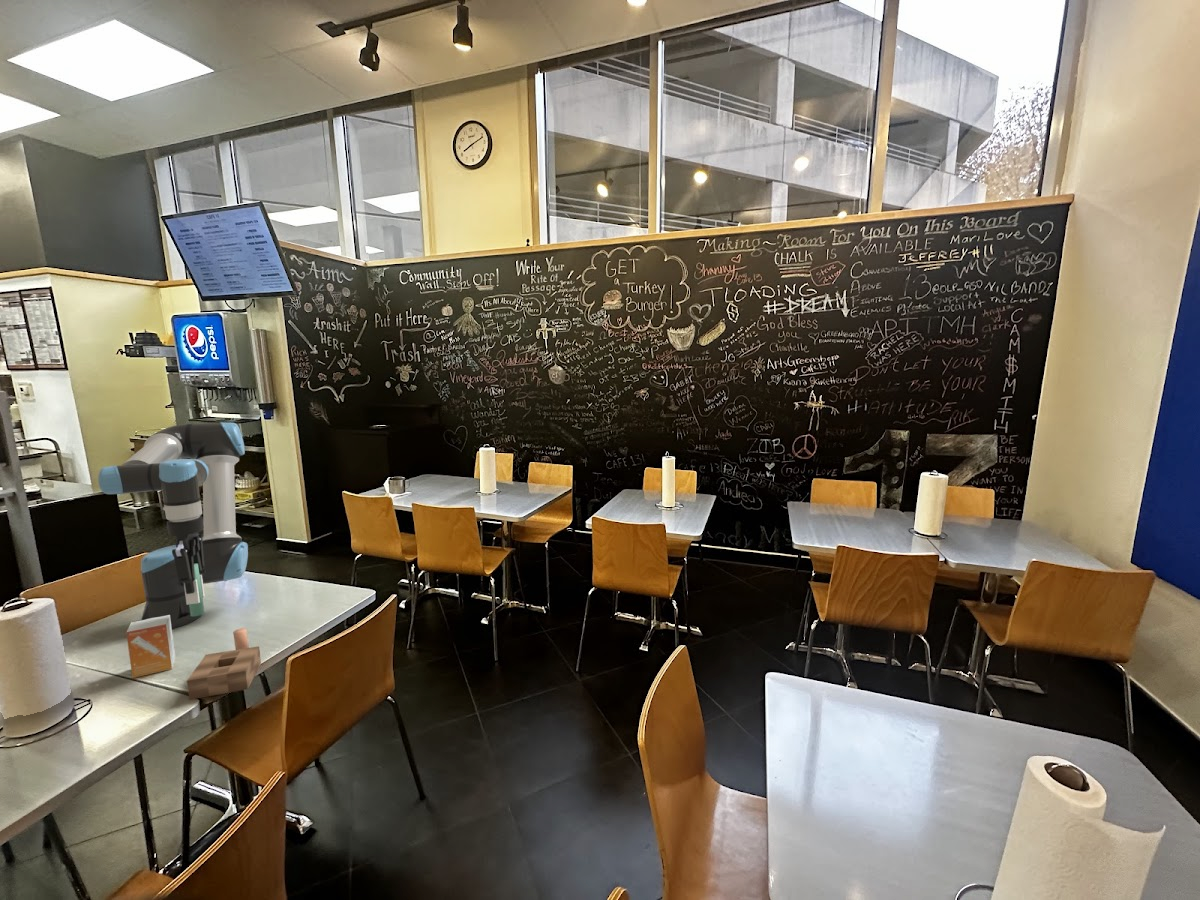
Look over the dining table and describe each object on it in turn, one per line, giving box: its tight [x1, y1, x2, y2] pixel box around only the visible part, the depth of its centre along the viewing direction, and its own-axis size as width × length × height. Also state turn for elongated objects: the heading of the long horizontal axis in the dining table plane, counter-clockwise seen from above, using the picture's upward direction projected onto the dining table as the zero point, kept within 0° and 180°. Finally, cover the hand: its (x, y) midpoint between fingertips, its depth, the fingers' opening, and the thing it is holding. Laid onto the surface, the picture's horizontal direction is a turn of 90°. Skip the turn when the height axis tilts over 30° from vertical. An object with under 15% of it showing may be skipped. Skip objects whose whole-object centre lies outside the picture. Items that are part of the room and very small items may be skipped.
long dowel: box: [189, 563, 205, 616], centre depth 138 cm, size 3×3×14 cm
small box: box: [125, 615, 176, 679], centre depth 135 cm, size 8×6×13 cm
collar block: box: [186, 646, 262, 700], centre depth 130 cm, size 12×12×5 cm
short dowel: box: [232, 627, 250, 650], centre depth 142 cm, size 3×3×7 cm
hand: (195, 600), depth 139 cm, fingers closed on long dowel, 3 cm apart
